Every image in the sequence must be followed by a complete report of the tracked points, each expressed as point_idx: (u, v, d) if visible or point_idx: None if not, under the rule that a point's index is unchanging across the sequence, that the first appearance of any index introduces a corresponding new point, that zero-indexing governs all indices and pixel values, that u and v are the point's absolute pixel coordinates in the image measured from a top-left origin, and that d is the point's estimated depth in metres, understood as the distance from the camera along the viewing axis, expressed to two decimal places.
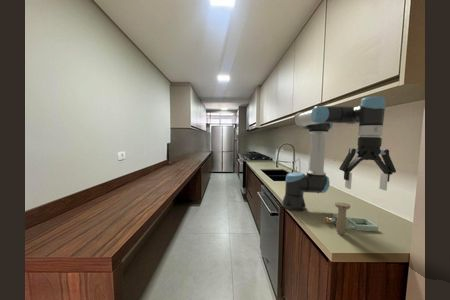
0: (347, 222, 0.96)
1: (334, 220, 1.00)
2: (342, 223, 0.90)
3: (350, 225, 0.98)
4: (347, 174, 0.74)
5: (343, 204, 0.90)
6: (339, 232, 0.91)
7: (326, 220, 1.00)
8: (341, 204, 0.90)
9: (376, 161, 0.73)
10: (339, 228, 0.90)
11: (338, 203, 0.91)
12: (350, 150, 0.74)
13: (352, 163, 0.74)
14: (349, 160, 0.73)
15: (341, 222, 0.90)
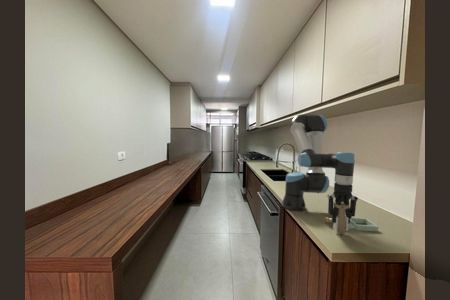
0: None
1: None
2: (341, 223, 0.90)
3: (350, 225, 0.98)
4: (334, 218, 0.91)
5: (342, 204, 0.90)
6: (339, 232, 0.91)
7: (326, 220, 1.00)
8: (340, 204, 0.90)
9: None
10: (339, 228, 0.90)
11: None
12: (328, 197, 0.91)
13: (335, 208, 0.91)
14: (331, 206, 0.90)
15: (340, 222, 0.90)
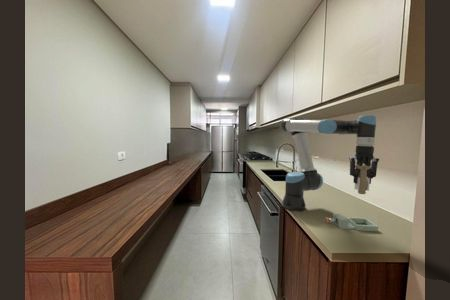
0: (347, 222, 0.96)
1: (334, 220, 1.00)
2: (363, 183, 0.94)
3: (350, 225, 0.98)
4: (356, 178, 0.96)
5: (363, 165, 0.95)
6: (360, 192, 0.96)
7: (326, 220, 1.00)
8: None
9: (366, 165, 0.96)
10: (360, 188, 0.95)
11: None
12: (350, 159, 0.96)
13: (356, 169, 0.96)
14: (353, 167, 0.95)
15: (362, 182, 0.95)
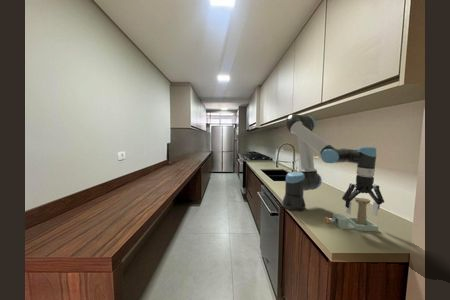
0: (347, 222, 0.96)
1: (334, 220, 1.00)
2: (362, 217, 0.97)
3: (350, 225, 0.98)
4: (348, 203, 0.99)
5: (363, 199, 0.98)
6: None
7: (326, 220, 1.00)
8: (361, 199, 0.98)
9: (370, 193, 0.98)
10: (360, 221, 0.98)
11: (358, 199, 0.99)
12: (350, 185, 0.98)
13: (352, 195, 0.99)
14: (349, 193, 0.98)
15: (362, 216, 0.97)
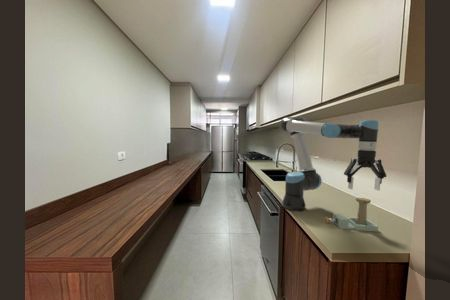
0: (347, 222, 0.96)
1: (334, 220, 1.00)
2: (363, 217, 0.97)
3: (350, 225, 0.98)
4: (350, 178, 0.97)
5: (364, 199, 0.98)
6: None
7: (326, 220, 1.00)
8: (362, 199, 0.98)
9: (372, 168, 0.97)
10: (360, 221, 0.98)
11: (359, 198, 1.00)
12: (352, 159, 0.97)
13: (353, 170, 0.97)
14: (351, 167, 0.96)
15: (362, 215, 0.98)
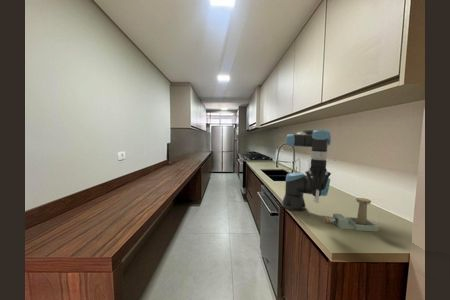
0: (347, 222, 0.96)
1: (334, 220, 1.00)
2: (363, 217, 0.97)
3: (350, 225, 0.98)
4: (314, 191, 0.99)
5: (364, 199, 0.98)
6: None
7: (326, 220, 1.00)
8: (362, 199, 0.98)
9: (318, 178, 0.99)
10: (360, 221, 0.98)
11: (359, 198, 0.99)
12: (306, 173, 1.00)
13: (313, 182, 0.99)
14: (310, 180, 0.98)
15: (362, 216, 0.97)
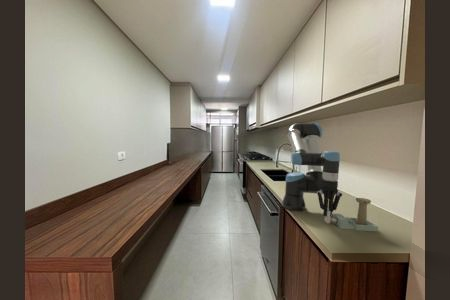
0: (347, 222, 0.96)
1: (336, 220, 1.00)
2: (363, 217, 0.97)
3: (350, 225, 0.98)
4: (325, 212, 1.00)
5: (364, 199, 0.98)
6: None
7: None
8: (362, 199, 0.98)
9: (329, 198, 1.00)
10: (360, 221, 0.98)
11: (359, 198, 0.99)
12: (317, 193, 1.00)
13: (325, 202, 1.00)
14: (321, 201, 0.99)
15: (362, 216, 0.97)
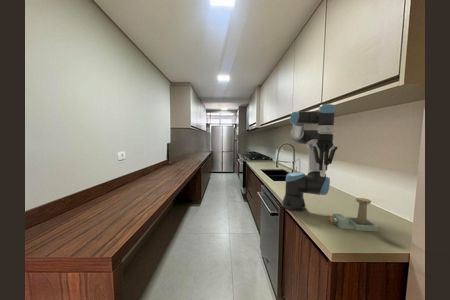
0: (347, 222, 0.96)
1: None
2: (363, 217, 0.97)
3: (350, 225, 0.98)
4: (321, 166, 1.00)
5: (364, 199, 0.98)
6: None
7: (330, 220, 1.00)
8: (362, 199, 0.98)
9: (325, 152, 1.00)
10: (360, 221, 0.98)
11: (359, 198, 0.99)
12: (312, 148, 1.00)
13: (320, 157, 1.00)
14: (317, 155, 0.99)
15: (362, 216, 0.97)
